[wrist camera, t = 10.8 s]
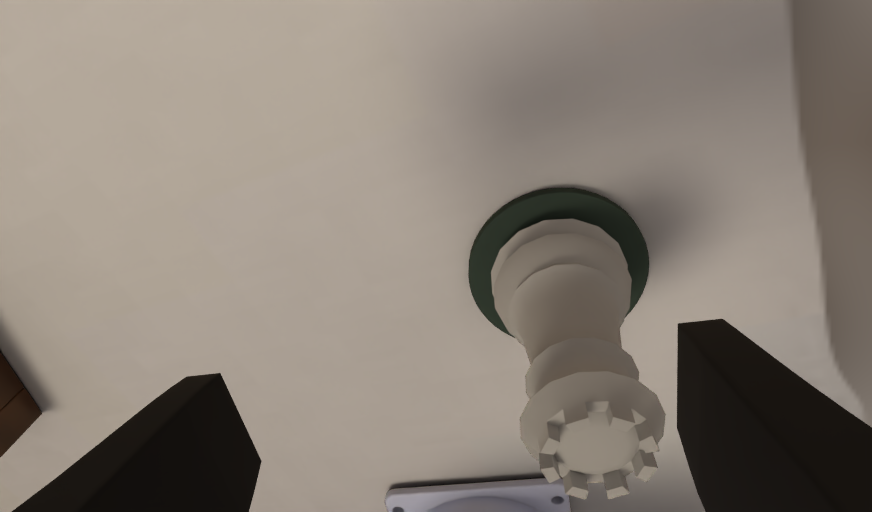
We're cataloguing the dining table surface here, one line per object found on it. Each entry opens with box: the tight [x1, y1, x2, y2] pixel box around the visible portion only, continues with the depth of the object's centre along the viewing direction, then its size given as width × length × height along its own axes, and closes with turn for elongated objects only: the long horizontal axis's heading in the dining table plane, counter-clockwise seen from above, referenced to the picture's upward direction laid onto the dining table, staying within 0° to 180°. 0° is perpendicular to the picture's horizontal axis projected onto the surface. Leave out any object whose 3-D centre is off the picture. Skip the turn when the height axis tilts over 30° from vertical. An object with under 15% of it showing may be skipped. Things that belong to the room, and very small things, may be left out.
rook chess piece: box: [491, 219, 665, 499], centre depth 16 cm, size 4×4×8 cm
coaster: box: [469, 188, 649, 338], centre depth 19 cm, size 6×6×1 cm
